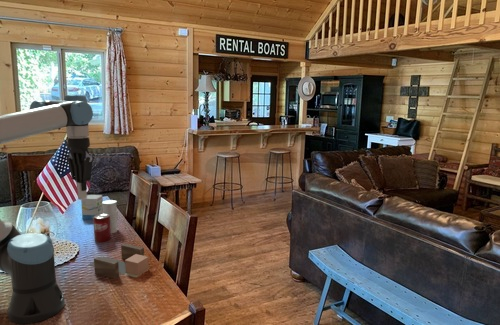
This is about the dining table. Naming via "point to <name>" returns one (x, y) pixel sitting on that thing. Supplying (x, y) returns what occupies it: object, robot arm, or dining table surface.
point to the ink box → (92, 206)
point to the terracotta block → (136, 264)
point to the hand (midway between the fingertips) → (82, 198)
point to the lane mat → (121, 266)
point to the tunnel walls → (112, 267)
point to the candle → (111, 213)
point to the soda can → (102, 228)
